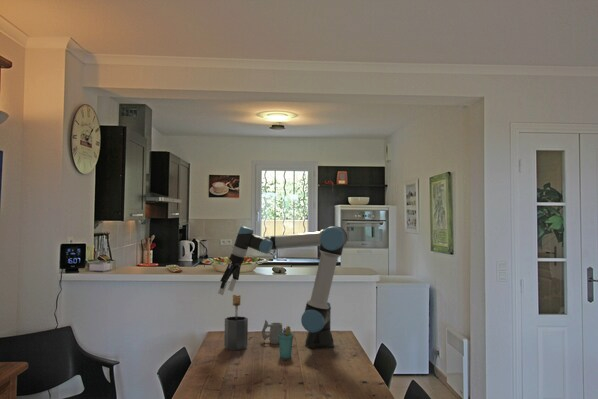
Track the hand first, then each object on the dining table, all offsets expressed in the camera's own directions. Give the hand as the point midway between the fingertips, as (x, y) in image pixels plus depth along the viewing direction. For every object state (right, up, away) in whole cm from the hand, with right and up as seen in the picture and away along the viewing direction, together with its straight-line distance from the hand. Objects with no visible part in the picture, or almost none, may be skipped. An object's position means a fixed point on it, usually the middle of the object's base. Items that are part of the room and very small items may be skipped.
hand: (225, 292), depth 248 cm
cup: (+33, -27, -23) cm, 48 cm away
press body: (+5, -28, -5) cm, 29 cm away
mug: (+25, -29, +6) cm, 38 cm away
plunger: (+6, -18, -6) cm, 20 cm away
